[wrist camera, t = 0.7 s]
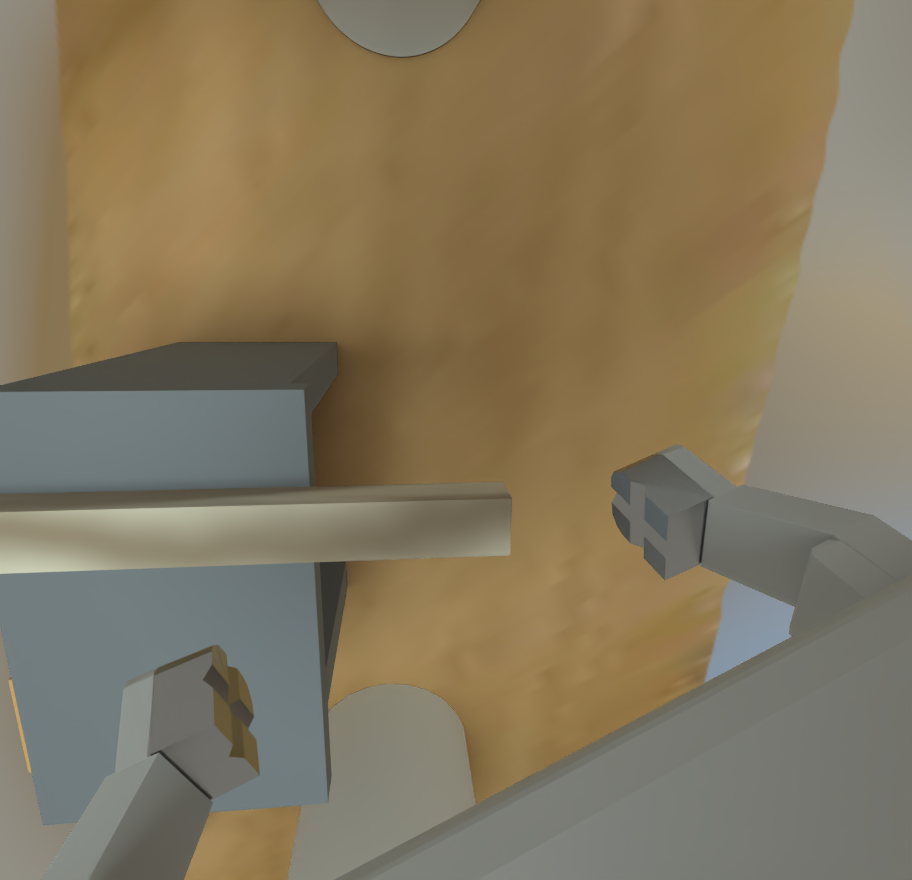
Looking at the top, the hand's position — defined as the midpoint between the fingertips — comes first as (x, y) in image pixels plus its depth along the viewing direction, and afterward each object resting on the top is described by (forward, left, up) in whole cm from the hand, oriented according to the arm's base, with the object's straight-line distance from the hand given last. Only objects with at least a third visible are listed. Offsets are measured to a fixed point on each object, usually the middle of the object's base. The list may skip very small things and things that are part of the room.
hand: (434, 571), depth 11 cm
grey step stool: (+12, -13, -44) cm, 48 cm away
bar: (+6, -8, -18) cm, 21 cm away
